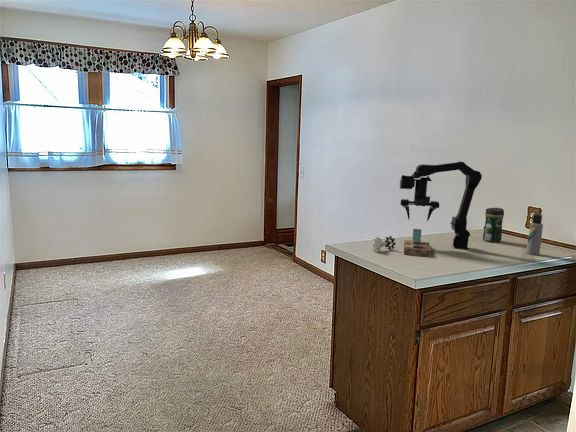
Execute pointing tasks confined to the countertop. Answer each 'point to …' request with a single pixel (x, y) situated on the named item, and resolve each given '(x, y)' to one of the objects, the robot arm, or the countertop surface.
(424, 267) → the countertop surface
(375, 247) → the valve
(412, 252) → the socket plate
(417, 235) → the plug
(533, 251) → the lotion bottle
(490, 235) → the coffee jar
